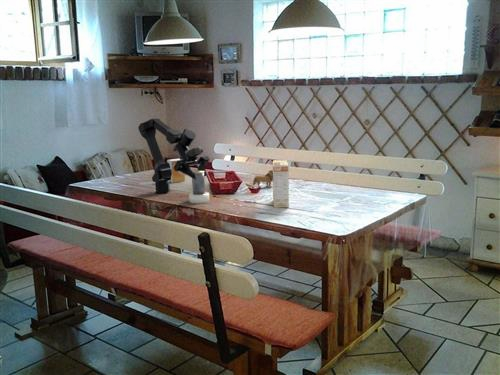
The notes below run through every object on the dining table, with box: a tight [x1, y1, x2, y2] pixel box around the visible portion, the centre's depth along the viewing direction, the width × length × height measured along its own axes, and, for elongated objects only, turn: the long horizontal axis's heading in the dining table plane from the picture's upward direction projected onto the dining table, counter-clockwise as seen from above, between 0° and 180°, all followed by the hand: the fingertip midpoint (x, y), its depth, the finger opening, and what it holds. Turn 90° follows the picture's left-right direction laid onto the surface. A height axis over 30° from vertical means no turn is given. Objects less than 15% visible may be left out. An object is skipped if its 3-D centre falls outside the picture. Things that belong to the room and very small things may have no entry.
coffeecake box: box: [272, 159, 290, 208], centre depth 229 cm, size 15×7×20 cm, turn 178°
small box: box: [166, 158, 186, 184], centre depth 289 cm, size 8×6×13 cm
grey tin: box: [191, 169, 206, 195], centre depth 239 cm, size 6×6×11 cm
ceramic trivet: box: [188, 191, 211, 204], centre depth 240 cm, size 10×10×4 cm
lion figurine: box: [252, 169, 273, 189], centre depth 268 cm, size 15×5×9 cm, turn 118°
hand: (200, 176), depth 237 cm, fingers open, 7 cm apart
